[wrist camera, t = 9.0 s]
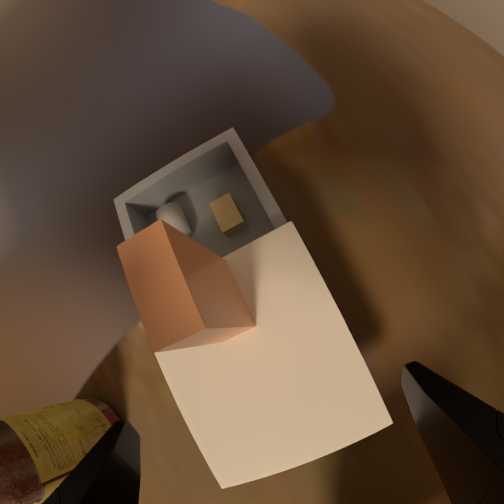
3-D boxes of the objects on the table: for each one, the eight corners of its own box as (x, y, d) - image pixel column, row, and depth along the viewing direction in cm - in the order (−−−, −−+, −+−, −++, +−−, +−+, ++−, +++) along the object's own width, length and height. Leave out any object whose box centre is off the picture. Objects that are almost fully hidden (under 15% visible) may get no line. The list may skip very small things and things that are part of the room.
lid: (390, 419, 15) (434, 485, 7) (225, 483, 16) (167, 558, 8) (293, 225, 18) (267, 152, 10) (142, 305, 19) (44, 289, 11)
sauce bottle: (78, 385, 24) (-126, 400, 5) (133, 411, 22) (-98, 470, 3) (75, 445, 23) (-102, 489, 4) (128, 474, 21) (-57, 560, 2)
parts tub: (321, 292, 21) (321, 285, 18) (194, 354, 22) (169, 359, 18) (246, 154, 25) (232, 127, 21) (140, 215, 26) (113, 199, 22)
